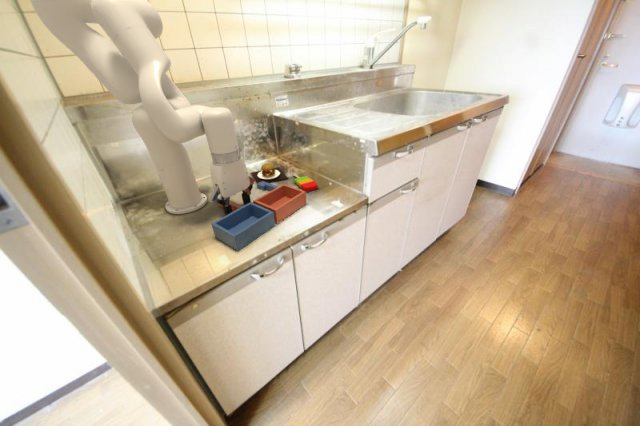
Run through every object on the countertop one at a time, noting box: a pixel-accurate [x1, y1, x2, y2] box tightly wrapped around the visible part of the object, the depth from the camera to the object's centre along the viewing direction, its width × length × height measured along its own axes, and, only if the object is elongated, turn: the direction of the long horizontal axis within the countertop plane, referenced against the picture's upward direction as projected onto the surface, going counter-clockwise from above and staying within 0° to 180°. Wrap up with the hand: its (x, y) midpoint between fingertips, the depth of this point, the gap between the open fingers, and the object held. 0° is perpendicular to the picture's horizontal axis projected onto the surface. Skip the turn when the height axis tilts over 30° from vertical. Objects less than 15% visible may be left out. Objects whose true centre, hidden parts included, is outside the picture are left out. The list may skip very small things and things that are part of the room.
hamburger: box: [250, 162, 289, 185], centre depth 101 cm, size 12×12×6 cm
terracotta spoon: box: [219, 199, 244, 211], centre depth 81 cm, size 10×3×2 cm, turn 54°
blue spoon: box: [256, 181, 280, 192], centre depth 92 cm, size 10×3×2 cm, turn 54°
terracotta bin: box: [252, 183, 307, 225], centre depth 80 cm, size 10×14×5 cm
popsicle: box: [292, 173, 319, 193], centre depth 96 cm, size 6×15×2 cm, turn 31°
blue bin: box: [210, 201, 276, 252], centre depth 71 cm, size 10×14×5 cm
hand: (238, 209), depth 80 cm, fingers open, 6 cm apart
